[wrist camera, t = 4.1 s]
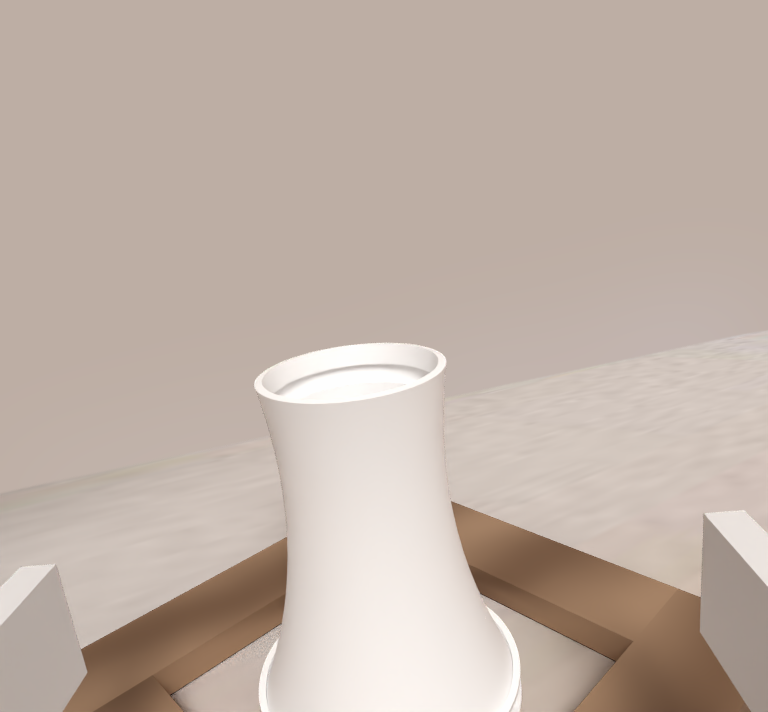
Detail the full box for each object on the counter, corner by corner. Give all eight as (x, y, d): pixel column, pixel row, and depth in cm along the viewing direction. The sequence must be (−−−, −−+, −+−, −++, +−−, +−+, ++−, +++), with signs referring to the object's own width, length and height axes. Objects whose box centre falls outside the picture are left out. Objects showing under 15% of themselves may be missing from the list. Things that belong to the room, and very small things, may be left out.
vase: (233, 667, 20) (170, 371, 18) (430, 578, 24) (403, 318, 21) (327, 877, 14) (251, 461, 11) (580, 714, 17) (569, 363, 14)
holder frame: (24, 711, 19) (16, 684, 19) (395, 498, 30) (393, 479, 29) (375, 1393, 8) (365, 1351, 8) (784, 659, 18) (786, 630, 18)
